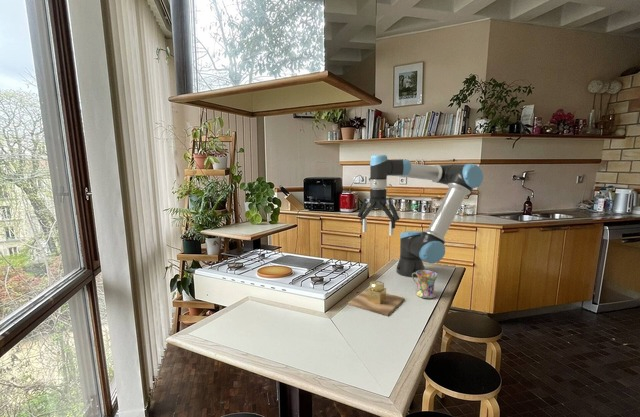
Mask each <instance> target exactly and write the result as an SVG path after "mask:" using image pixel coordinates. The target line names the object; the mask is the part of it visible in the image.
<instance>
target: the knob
mask: <svg viewBox="0 0 640 417" xmlns="http://www.w3.org/2000/svg"><path fill="white" fill-rule="evenodd" d="M367 289H368V290H367V301H369V302H373V303H377V304H381V303H382V302H384V301H385V300H386V293H387V288H386V287H385V282H383V281H379V280H372V281H370V282H369V288H367Z"/></svg>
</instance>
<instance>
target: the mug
mask: <svg viewBox="0 0 640 417" xmlns="http://www.w3.org/2000/svg"><path fill="white" fill-rule="evenodd" d="M413 274H416V275H417V277H416V278H417V281H418V282H417V281H416V279H415V277H413ZM438 275H439V274H438V273H437V272H436V271H433V270H428V269H425V270H418V271H416V273H412V277H411V278H412V280H413V282H414V283H415V284H416V285H417V286H416V287H417V290H416V291H415V294H416V296H418V297H419V298H422V299H433V298H435V297H436V296H437V294H436V291H435V282H436V279H437V278H438Z"/></svg>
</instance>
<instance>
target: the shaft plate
mask: <svg viewBox="0 0 640 417" xmlns="http://www.w3.org/2000/svg"><path fill="white" fill-rule="evenodd" d="M368 289H369V288H366V289H365V290H364V291H362V292H360V293H359V294H358V295H356V296H355V297H353V298H352V299H351V300H349V301H348V302H347V305H348V306H351V307H355V308H357V309H361V310H365V311H367V312H368V311H369V312H372V313H376V314H378V315H382V316H386V317H388V316H390V315H391V314H392V313H393V312H394V311H395V310H396V309H397V308H398V307H400V305H401V304H402V303H403V302H404V301H405V297H403V296H399V295H394V294H390V293H387V292H386V300H385V301H384V302H382V303H381V304H377V303H373V302H369V301H367V290H368Z"/></svg>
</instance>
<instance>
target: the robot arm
mask: <svg viewBox="0 0 640 417" xmlns="http://www.w3.org/2000/svg"><path fill="white" fill-rule="evenodd" d="M369 162H370V164H369V171H370V172H369V173H370V175H369V177H370V181H369V182H370V184H369V188H370V190H369V198H368V197H367V198H364V199H363V203H362V206H360V210H359V212H358V214H357V217H358V218H360V219H361V220H360V221H361V222H360V224H361V226H362V233H367V232H368V231H367V230H368V227H367V226H368V222H367V221H368V218H367V216H369V214H370V212H371V211H372V210H373V209H375V210H376V209H378V210H382V211H383V212H384V213H385V215H386V216H387V217H388V219H389V220H390V221H389V225H388V226H389V228H388V230H389V232H388V234H389V236H390V237H391V236H394V229H395V228H396V221H399V220H400V219H401V218H400V216H399V214H398V212H397V209H396V207H395V204H394V200H393V199H387V188H388V186H387V183H388V182H387V181H388V176H390V177H392V176H393V177H399V178H400V177H401V178H409V179H418V180H428V181H431V182H432V183H437V184H442V185H447V186H448V189H447V191H446V194H445V195H444V197H443V199H442V201H441V203H440V204H439V207H438V209H437V211H436V213H435V215H434V216H433V218H432V221H431V222H430V224H429V226H428V227H427V229H425V230H423V231H420V230H418V231H417V230H406V231H405V230H404V231H402V232H400V240H399V245H400V246H399V259H398V263H397V265H396V273H397V274H398V275H401V276H404V277H409V278H412V273H416V271H418V270H426V269H425V265H424V263H428V264H435V263H436V264H437V263H438V262H441V260H442V259H443V258H444V257H445V255H446V247H445V244H446V240H445V236H446V235H447V232H448V231H449V229H450V227H451V224H452V223H453V221H454V219H455V217H456V215H457V213H458V212H459V210H460V207H461V205H462V204H463V202H464V199H465V198H466V196H468V195H470V194H472V191H473V189H476V188H477V189H478V188H479V187H480V186H481V185H482V183H483V181H484V174H483V170H482V168H481V167H480V166H479V165H477V164H474V163H457V164H455V163H451V164H434V165H428V164H427V165H426V164H421V163H419V164H418V163H412V162H411V161H410V160H409V159H404V158H399V159H398V158H394V159H389V158H388V156H387V155H386V154H373V155H371V157H370V161H369ZM369 203H370V205H369V206H368V204H369ZM386 204H387V205H388V206H387V205H386ZM367 206H368V207H367ZM388 207H389V208H388ZM366 208H367V209H366ZM413 278H417V275H416V274H413Z"/></svg>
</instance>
